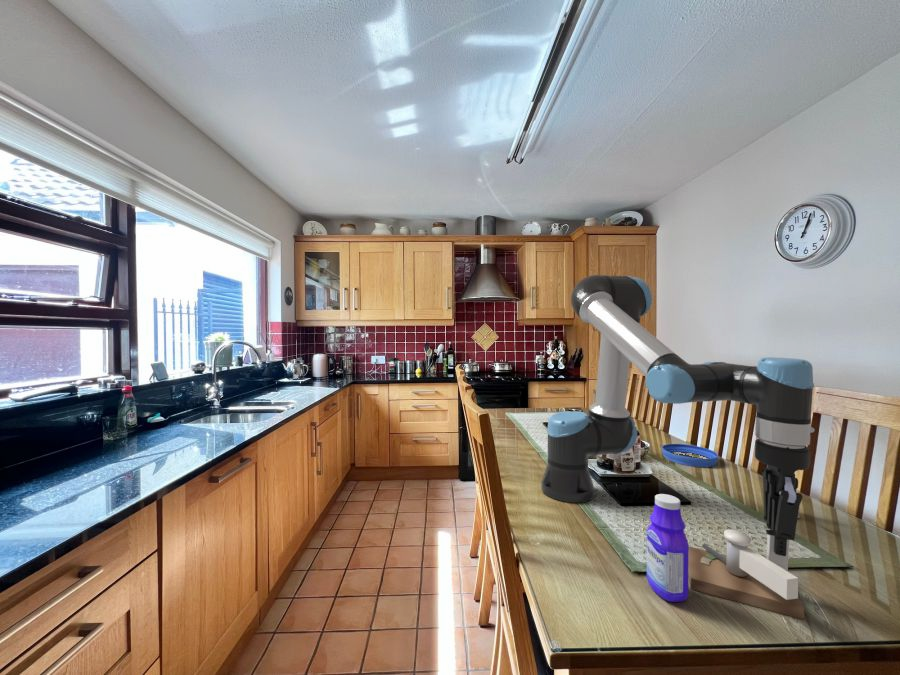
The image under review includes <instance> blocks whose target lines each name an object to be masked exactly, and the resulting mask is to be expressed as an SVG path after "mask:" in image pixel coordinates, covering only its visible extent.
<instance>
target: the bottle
mask: <svg viewBox="0 0 900 675" xmlns="http://www.w3.org/2000/svg"><path fill="white" fill-rule="evenodd" d="M649 521H650V522H651V523H650V524H649V525H648V527H647V530H646V579H647V582H648V585H649V586H650V587H651V589H652V591H654V593H656V594H657V595H658V596H659V597H660V598H662V599H663V600H664V601H666V602H673V603H674V602H675V603H676V602H677V603H678V602H685V601H686V600H687V598H688V596H689V577H688V573H689V572H688V561H689V547H690V546H689V543H688V542H689V541H688V539H687V536H686V533H685V531H684V530H685V529H686V524H685V522H684V519H683V518H682V512H681V500H680V499H679V498H678V497H676V496H673V495H672V494H667V493H666V494H665V493H659V494H656V495H654V508H653V511H652V514H651V515H650V516H649Z"/></svg>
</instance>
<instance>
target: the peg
mask: <svg viewBox="0 0 900 675" xmlns="http://www.w3.org/2000/svg"><path fill="white" fill-rule="evenodd" d="M723 537H724V539H725V541H726V554H725V555H726V558H725V557H724V556H722V555H721V554H722V553H719V552H718V551H717V550H715V549H713V548H712V547H711V546H709V545H707V544H705V543H702V544H701V546H702V548H703V550H706V551H709V552H710V553H712V554H713V555H714V556H716V557H717V558H719V559H720V560H722V561H723V562H725V563H726V569H727V570H728V571H729V572H730V573H732V574H734V575H737V576H741V577H745V576H747V573H748V574H749V575H751V576H752V577H754V578H755V579H757V580H758V581H760V582H761V583H763V584H764V585H766V586H767V587H769V588H770V589H771V590H773V591H774V592H776V593H777V594H779V595H780V596H782V597H783V598H785V599H786V600H789V599H797V598H799V577H797V576H796V575H794V574H793V573H791V572H789V571H788V572H787V571H786V570H784V569H783V568H781V567H779V566H778V565H776V564H774V563H773V562H771V561H769V560H768V559H767V557H764V556H762V555H761V554H760V553H759V552H756V551H755V550H753V549H751V548H748V547H750V546H751V545H752V544H751V540H752V538H751V536H750V535H748V534H746V533H745V532H742V531H740V530H735V529H725V530H724V532H723Z"/></svg>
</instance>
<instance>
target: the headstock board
mask: <svg viewBox="0 0 900 675" xmlns="http://www.w3.org/2000/svg"><path fill="white" fill-rule="evenodd" d="M720 554H721V555H722V556H724V557H725V558H726V554H723V553H720ZM688 572H689V573H688V578H689V581H688V584H689V587H690V590H694V591H697V592H700V593H705V594H708V595H712V596H716V597H718V598H719V597H720V598H723V599H727V600H731V601H733V602H734V601H735V602H738V603H740V604H741V603H742V604H746V605H748V606H752V607H756V608H759V609H764V610H767V611H771V612H774V613H775V612H776V613H778V614H782V615H786V616H788V617H789V616H790V617H793V618H798V619H801V620H805V619H804V618H805V608H804V607H805V606H804V605H803V604H802V601H801V600H800V598H799V597H798V598H797V599H789V600H786V599H785V598H783V597H782V596H780V595H779V594H777V593H776V592H774V591H773V590H771V589H770V588H769V587H767V586H766V585H764V584H763V583H761V582H760V581H758V580H757V579H755V578H754V577H752V576H751V575H749V574H748V573H747V576H745V577H741V576H737V575H734V574H732V573H730V572H729V571H728V570H727V569H726V563H725V562H723V561H722V560H720V559H719V558H717V557H716V556H714V555H713V554H712V553H710V552H709V551H707V550H706V549H700V548H697V547H692V546H689V561H688Z"/></svg>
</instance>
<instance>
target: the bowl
mask: <svg viewBox="0 0 900 675" xmlns="http://www.w3.org/2000/svg"><path fill="white" fill-rule="evenodd" d="M661 451H662V455H663V457H664V458H665V459H666V460H668V461H670V462H672V463H676V464H679V465H682V466H687V467H688V466H689V467H696V468H711V466H712V467H715V466H716V465H717V462H718V460H719V454H718V453H717V452H716V451H714V450H712V449H709V448H706V447H702V446H698V445H692V444H684V443H668V444H664V445H662V446H661ZM672 452H681V453H685V455H683V454H679V455H678V454H673V453H672ZM687 453H692V455H693V454H696V455H700V456H703V457H706V458H708V459H703V458H697V457H692V456H689V455H686V454H687ZM714 465H715V466H714Z"/></svg>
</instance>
